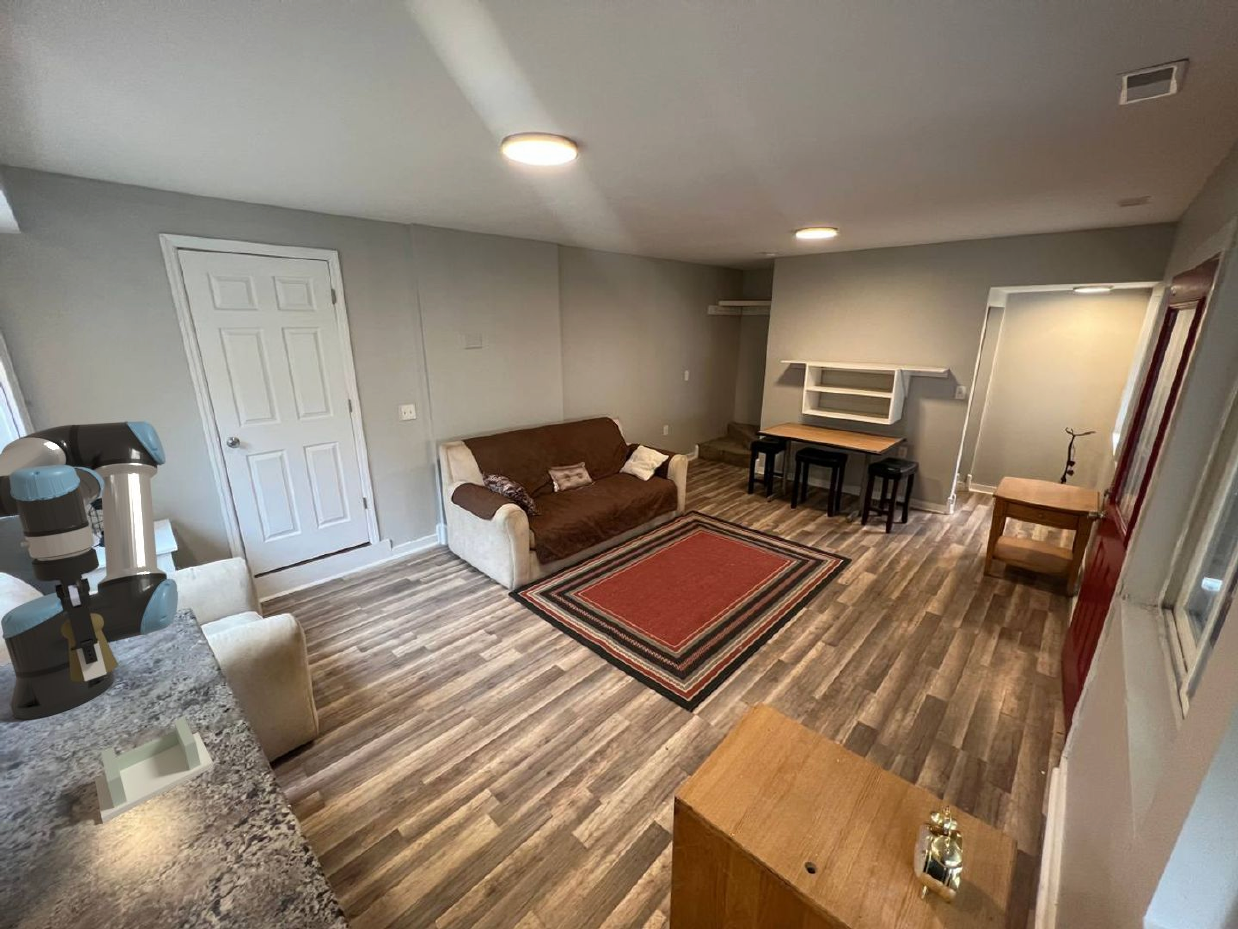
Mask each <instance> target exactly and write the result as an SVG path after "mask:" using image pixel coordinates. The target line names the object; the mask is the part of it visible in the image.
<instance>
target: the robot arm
mask: <svg viewBox="0 0 1238 929" xmlns="http://www.w3.org/2000/svg"><path fill="white" fill-rule="evenodd" d="M165 464H166V454H165V450H164V447H163V444H162V441H161V439H160V437H159V434H158V432H157V430H156V428H155V427H154V425H152V424H151V423H149V422H147V421H127V420H126V421H120V422H104V423H84V424H67V425H66V424H65V425H59V426H54V427H49V428H46V429H43V430H39V431H36V432H35V431H34V432H33V433H30V434H26V435H23V436H22V437H19V438H17V439H15V440H13V441H10V442H9V443H7V444H6V446H4V448H3V449H2V451H1V453H0V518H9V517H17V516H18V517H19V521H20V526H21V528H22V531H23V536H24V537H25V541H21V542H20V547H22V548H27V547H28V548H27V550H28V553H29V556H30V557H31V558H33V561H31V565H32V566H31V567H32V570H33V572H34V576H35V579H36V580H37V581H39V582H44V583H45V582H48V583H49V582H53V581H59V582H60V584H55V585H54V587H55V592H52V593H49V594H45V595H43V596H40V597H37V598H35V599H31V600H29V601H26V602H24V603H22V604H20V605H17V606H16V607H14V608H13V609H11V610H9V611H7V613H5V614H4V615H3V617H2V619H1V620H0V624H1V625H0V626H1V629H2V630H1V631H2V639H3V640H4V643H5V645H6V649H7V652H8V655H9V659H10V661H11V664H12V667H13V668H12V669H13V671H14V675H15V678H16V679H15V680H16V681H15V685H14V690H13V693H12V699H11V702H10V708H11V711H12V715H13V717H14V718H16V719H18V720H19V719H20V720H34V719H40V718H43V717H44V718H45V717H49V716H53V715H56V714H60V713H62V712H65V711H68V710H71V709H73V708H76V707H78V706H81V705H83V704H84V703H87V702H89V701H91V700H93V699H95V698H96V697H98V696H100V695H101V694H103V693H104V692H105V691H107V690H109V688H110V687H111V686H112V685H113V684H114V682H115V680H116V679H115V674H114V672H113V670H112V671H110V672H108V673H106V669H105V665H104V661H103V657H102V653H101V649H100V646H99V642H98V638H96V635H95V631H94V627H93V623H92V619H91V615H90V614H91V613H94V614H99V615H100V616H102V618H103V621H104V626H103V627H102V629H101V630H102V632H103V634H104V636H105V638H106V640H107V642H108V644H110V643H114V642H117V641H122V640H127V639H130V638H135V637H139V636H147V635H149V634H151V633H155V632H158V631H161V630H165V629H168V627H170V626H171V625H172V624H173V622H174V620H175V618H176V614H177V610H178V603H179V602H178V601H179V592H178V584H177V582H176V580H174V579H173V578H168V577H167V576H168V575H167V573H166V572H165V571H164V570H161V569H159V568H158V560H157V547H156V537H155V522H154V510H153V498H152V486H151V478H152V477H154V476H155V475H157V474H158V466H163V465H165ZM100 496H101V501H102V502H101V504H102V520H103V522H102V523H103V538H104V555H105V556H104V558H105V572H106V575H105V577H104V578H102V579H101V580H100V581H99V582H98V583H97V585H96V587H97V592H96V593H93V594H92V593H91V594H90V591H91V587H90V582H89V578H88V577H85V578H83V575H85V574H90V573H92V572H93V571H95V570H97V569H98V568H99V566H100V560H99V557H98V554H97V553H98V552H97V549H95V548H93V547H94V546H95V540H94V536H93V531H92V528H91V525H90V522H89V518H88V515H87V510H86V507H87V506H89V505H91V504H92V503H94V502H95V501H97V500H98V498H99V497H100ZM68 620H70V623H71V627H72V631H73V635H74V639H75V642H76V645H75V646H74V647H71V648H70V649H71V651H73V650H77V653H78V657H79V661H80V665H81V668H82V672H83V676H84V680H85V681H79V682H76V681H71V676H70V658H69V640H68V639H67V638H65V637H64V636H63V635H62V632H61V627H62V625H63V624H64V623H65V622H66V621H68Z"/></svg>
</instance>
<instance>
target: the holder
mask: <svg viewBox="0 0 1238 929" xmlns="http://www.w3.org/2000/svg"><path fill="white" fill-rule="evenodd" d="M173 724H174V727H175V728H174V729H175V730H173V731H171V732H168V733H166V734H165V735H162V736H160V737H157V738H155V739H153V740H151V741H148V742H146V743H143V744H142V745H140V746H136V747H135V748H133V749H130V750H128V751H126V752H124V753H121V754H119V755H117V756H116V751H115V748H114V746H112V747H110V748H108V749H105V750H103V751H100V753H101V759H102V762H103V767H104V768H103V769H104V772H105V774H103V775H100V776H98V777H96V778H94V781H95V782H94V783H95V787H96V793H97V800H98V806H99V811H100V816H101V821H102V823H103V824H105V823H106V822H108V821H110V820H113V819H114V818H116V817H118V816H120V815H122V814H124V813H126V812H127V811H128V812H129V811H130V810H132V809H134V808H136V807H138V806H140V805H141V804H143V803H146V802H147V801H149V800H152V799H154V798H155V797H157V796H160V795H161V794H164V793H165V792H167V791H170V790H171V789H173V788H175V787H177V786H179V785H181V784H183V783H185V782H187V781H189V780H191V779H192V778H195V777H196V776H199V775H201V774H203V773H205V772H206V771H209V770H211V769H213V768H215V767H214V765H215V764H214V762H213V760H212V758H211V755H210V754H209V752H208V750H207V748H206V745H205V743H204V741H203V739H202V737H201V735H200V733H199V732H198V731H197V732H195V733H192V730H191V729H190V726H189V724H188V722H187V720H186V717H185V716H182V717H180V718H177V719H175V720H173Z"/></svg>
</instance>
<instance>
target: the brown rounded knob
mask: <svg viewBox="0 0 1238 929" xmlns="http://www.w3.org/2000/svg"><path fill="white" fill-rule="evenodd" d="M90 615H91V619H92V623H93V627H94V631H95V635H96V638H98V642H99V646H100V649H101V653H102V657H103V661H104V665H105V669H106V673H108V672H110V671H113V670H114V669H116V668H117V667H118V665H119V663H118V661H117V658H116V657H115V655H114V652H113V650H112V649H111V646H110V645H109V644H110V643H108V642H107V640H106V638H105V636H104V634H103V632H102V630H101V629H102V627H103V626H104V621H103V618H102V616H100V615H99V614H94V613H91V614H90ZM61 632H62V635H63V636H64V637H65V638H67V639H68V640H69V658H70V676H71V681H76V682H79V681H85V680H84V676H83V672H82V668H81V665H80V661H79V657H78V653H77V650H73V651H71V649H70V648H71V647H74V646H75V645H76V642H75V639H74V635H73V631H72V627H71V623H70V620H68V621H66V622H65V623H64V624H63V625H62V627H61Z"/></svg>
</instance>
